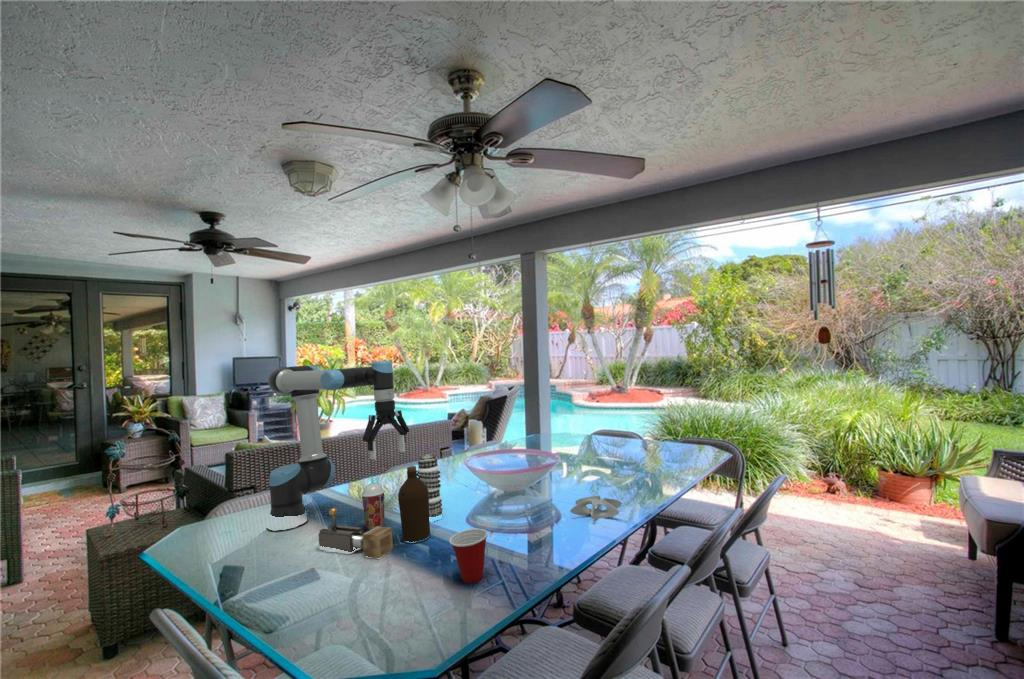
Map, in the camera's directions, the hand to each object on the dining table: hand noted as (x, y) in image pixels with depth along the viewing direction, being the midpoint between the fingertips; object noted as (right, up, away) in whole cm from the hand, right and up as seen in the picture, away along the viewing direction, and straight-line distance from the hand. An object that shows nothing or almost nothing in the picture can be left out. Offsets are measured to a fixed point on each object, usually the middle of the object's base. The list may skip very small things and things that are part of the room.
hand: (388, 455), depth 178 cm
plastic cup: (+37, -22, -49) cm, 66 cm away
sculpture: (+79, -20, -8) cm, 82 cm away
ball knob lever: (-9, -26, -21) cm, 34 cm away
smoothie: (-4, -27, -4) cm, 28 cm away
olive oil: (+15, -25, -16) cm, 34 cm away
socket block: (+4, -26, -27) cm, 37 cm away
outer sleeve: (-10, -27, -20) cm, 35 cm away
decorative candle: (+17, -26, +3) cm, 31 cm away
